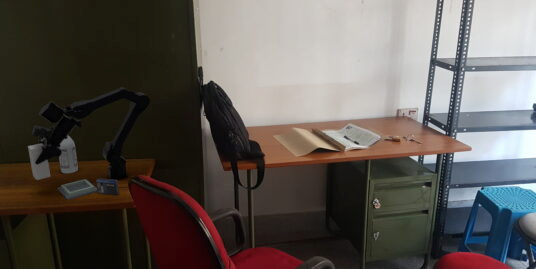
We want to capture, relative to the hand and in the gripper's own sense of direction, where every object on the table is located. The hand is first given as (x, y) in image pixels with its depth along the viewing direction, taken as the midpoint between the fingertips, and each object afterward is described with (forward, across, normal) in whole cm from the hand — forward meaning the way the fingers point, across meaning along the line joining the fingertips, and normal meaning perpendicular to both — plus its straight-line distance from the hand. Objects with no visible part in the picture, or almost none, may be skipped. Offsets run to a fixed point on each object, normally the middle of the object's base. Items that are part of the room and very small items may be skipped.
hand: (35, 161), depth 166 cm
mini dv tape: (-6, +15, +26) cm, 30 cm away
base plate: (0, +5, +19) cm, 19 cm away
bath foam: (0, -18, +20) cm, 27 cm away
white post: (+4, 0, +6) cm, 7 cm away
